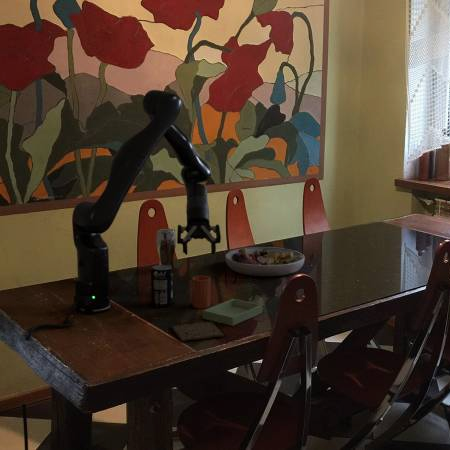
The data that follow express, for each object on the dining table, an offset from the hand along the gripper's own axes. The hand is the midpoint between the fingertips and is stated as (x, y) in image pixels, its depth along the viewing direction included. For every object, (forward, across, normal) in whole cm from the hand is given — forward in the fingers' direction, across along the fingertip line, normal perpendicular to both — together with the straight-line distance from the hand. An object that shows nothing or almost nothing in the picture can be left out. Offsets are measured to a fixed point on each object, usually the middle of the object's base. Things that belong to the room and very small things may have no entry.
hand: (199, 253), depth 234 cm
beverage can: (+15, -12, +6) cm, 20 cm away
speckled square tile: (+35, -2, -14) cm, 38 cm away
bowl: (-13, +26, +34) cm, 45 cm away
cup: (+17, 0, +3) cm, 18 cm away
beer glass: (-14, -10, +35) cm, 39 cm away
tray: (+25, +9, -4) cm, 27 cm away
